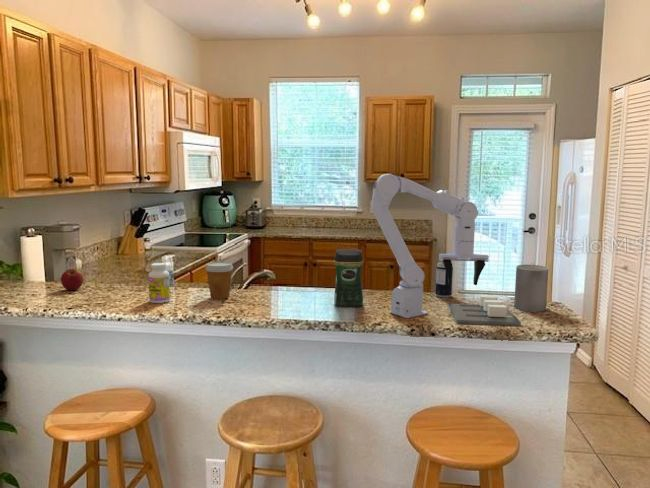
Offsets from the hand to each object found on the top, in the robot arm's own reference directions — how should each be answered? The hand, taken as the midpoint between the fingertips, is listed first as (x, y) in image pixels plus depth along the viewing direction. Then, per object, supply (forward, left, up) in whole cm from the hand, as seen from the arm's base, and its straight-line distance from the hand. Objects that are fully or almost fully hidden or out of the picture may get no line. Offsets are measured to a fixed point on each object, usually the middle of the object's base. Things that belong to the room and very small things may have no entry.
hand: (462, 284), depth 152 cm
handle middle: (+8, -6, -8) cm, 13 cm away
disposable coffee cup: (-55, +60, -10) cm, 82 cm away
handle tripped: (+4, -10, -8) cm, 14 cm away
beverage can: (+13, +19, -10) cm, 25 cm away
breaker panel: (+4, -5, -9) cm, 11 cm away
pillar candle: (+24, -8, -10) cm, 27 cm away
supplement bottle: (-74, +66, -10) cm, 100 cm away
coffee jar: (-23, +28, -10) cm, 37 cm away
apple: (-96, +100, -10) cm, 139 cm away
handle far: (+12, -1, -8) cm, 14 cm away
